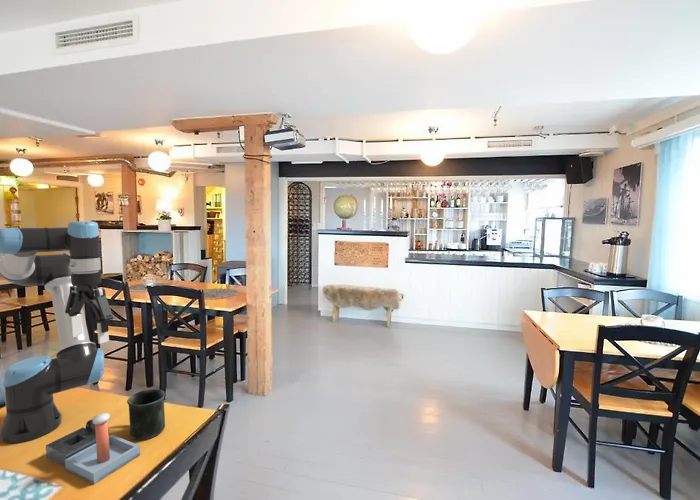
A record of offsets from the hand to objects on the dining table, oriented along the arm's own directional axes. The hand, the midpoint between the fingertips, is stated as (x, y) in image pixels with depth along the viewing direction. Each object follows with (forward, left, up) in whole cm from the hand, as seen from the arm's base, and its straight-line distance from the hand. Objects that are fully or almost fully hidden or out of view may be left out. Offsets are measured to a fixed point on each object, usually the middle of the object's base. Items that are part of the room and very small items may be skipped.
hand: (90, 339), depth 112 cm
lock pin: (+14, -6, -32) cm, 35 cm away
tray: (+14, -6, -33) cm, 36 cm away
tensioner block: (+2, -7, -33) cm, 34 cm away
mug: (+10, +10, -33) cm, 36 cm away
